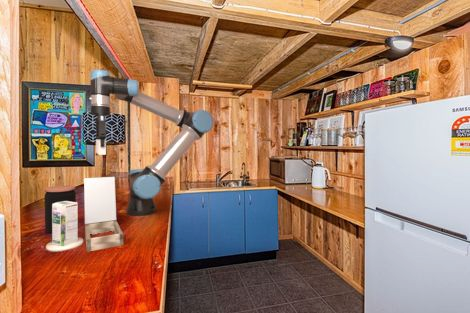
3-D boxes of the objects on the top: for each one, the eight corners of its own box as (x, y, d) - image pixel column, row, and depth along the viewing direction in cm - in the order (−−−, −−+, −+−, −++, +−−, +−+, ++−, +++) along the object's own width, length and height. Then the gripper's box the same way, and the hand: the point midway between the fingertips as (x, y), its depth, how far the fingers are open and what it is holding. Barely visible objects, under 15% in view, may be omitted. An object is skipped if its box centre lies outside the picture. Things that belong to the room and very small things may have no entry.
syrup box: (51, 244, 88) (50, 203, 88) (67, 238, 94) (67, 200, 93) (62, 246, 86) (62, 205, 86) (78, 240, 92) (78, 201, 91)
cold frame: (116, 229, 106) (116, 220, 106) (123, 244, 91) (123, 234, 91) (85, 234, 100) (84, 224, 100) (86, 251, 85) (86, 240, 85)
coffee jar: (60, 235, 99) (59, 190, 98) (38, 233, 101) (37, 188, 100) (82, 227, 109) (81, 186, 108) (61, 225, 111) (60, 184, 110)
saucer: (82, 237, 98) (82, 235, 98) (83, 247, 88) (83, 245, 88) (47, 242, 92) (47, 240, 92) (44, 254, 82) (44, 251, 82)
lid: (116, 219, 106) (115, 219, 107) (114, 176, 109) (114, 177, 111) (84, 224, 100) (84, 224, 101) (84, 178, 103) (84, 178, 104)
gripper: (89, 108, 120) (89, 152, 121) (92, 101, 99) (92, 155, 100) (106, 109, 124) (107, 152, 125) (113, 103, 103) (113, 155, 104)
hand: (100, 154), depth 112 cm, fingers open, 13 cm apart
